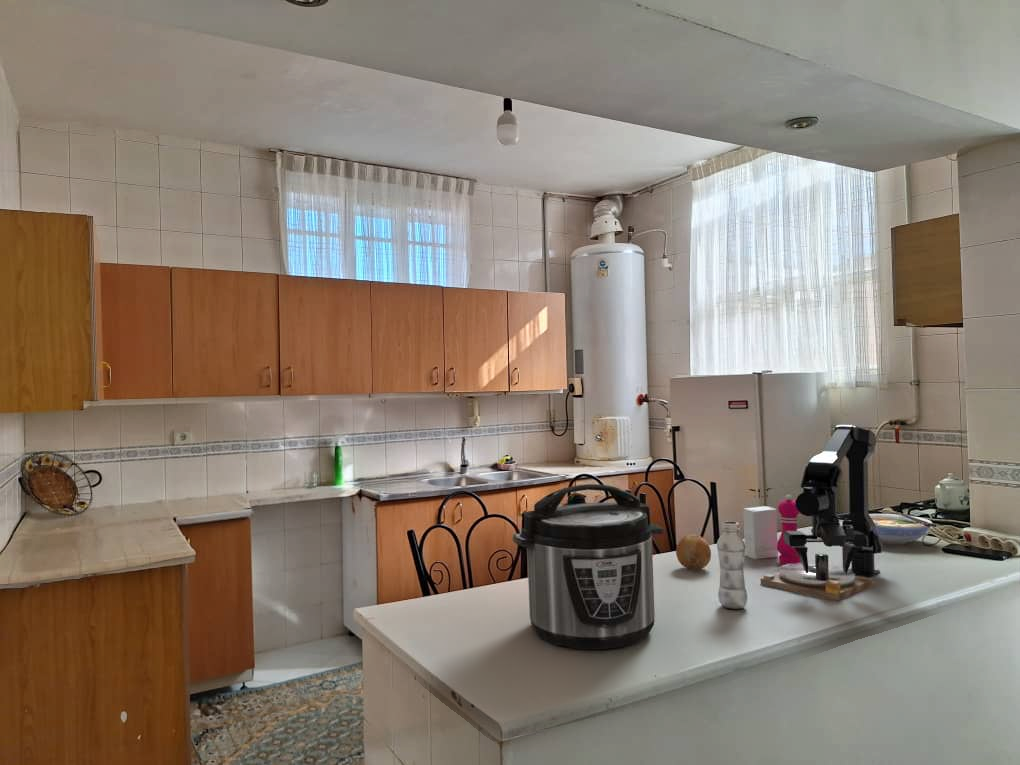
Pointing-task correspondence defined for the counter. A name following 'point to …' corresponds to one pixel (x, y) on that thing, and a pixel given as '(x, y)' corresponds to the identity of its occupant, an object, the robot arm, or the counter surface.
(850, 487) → the robot arm
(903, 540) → the ramen bowl
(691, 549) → the onion
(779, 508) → the pepper mill
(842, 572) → the dial
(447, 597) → the counter surface
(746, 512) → the skincare box
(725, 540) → the plastic bottle
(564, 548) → the pressure cooker
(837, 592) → the dial base
